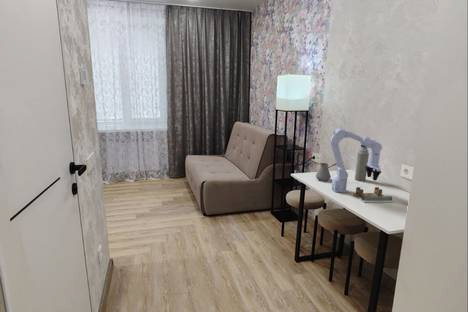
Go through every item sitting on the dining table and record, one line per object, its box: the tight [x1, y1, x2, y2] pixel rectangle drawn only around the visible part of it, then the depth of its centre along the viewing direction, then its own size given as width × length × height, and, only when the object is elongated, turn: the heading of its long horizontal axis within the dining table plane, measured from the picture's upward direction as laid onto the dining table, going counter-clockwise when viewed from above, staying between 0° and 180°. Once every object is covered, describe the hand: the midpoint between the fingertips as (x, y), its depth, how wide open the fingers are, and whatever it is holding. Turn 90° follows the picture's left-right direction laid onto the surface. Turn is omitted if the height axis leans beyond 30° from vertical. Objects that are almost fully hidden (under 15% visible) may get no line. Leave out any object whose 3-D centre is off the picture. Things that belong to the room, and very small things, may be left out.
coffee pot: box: [315, 161, 345, 182], centre depth 231 cm, size 21×12×15 cm, turn 97°
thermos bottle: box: [354, 144, 370, 182], centre depth 230 cm, size 8×8×28 cm
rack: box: [352, 186, 385, 198], centre depth 199 cm, size 19×5×5 cm, turn 93°
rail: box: [360, 195, 393, 200], centre depth 191 cm, size 19×2×2 cm, turn 93°
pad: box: [358, 197, 395, 204], centre depth 191 cm, size 20×7×1 cm, turn 93°
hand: (371, 178), depth 203 cm, fingers open, 7 cm apart
